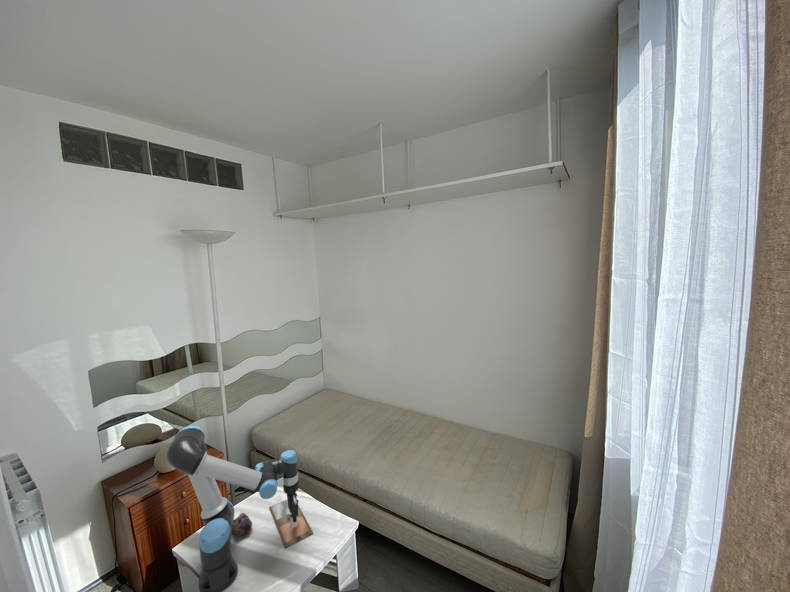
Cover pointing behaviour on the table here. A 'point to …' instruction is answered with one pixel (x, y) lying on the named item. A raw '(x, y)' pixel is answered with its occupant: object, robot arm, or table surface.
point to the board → (289, 524)
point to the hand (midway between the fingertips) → (294, 525)
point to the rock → (241, 524)
